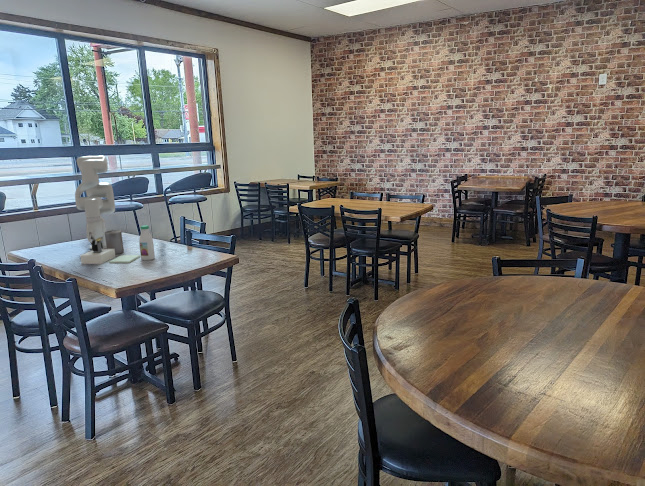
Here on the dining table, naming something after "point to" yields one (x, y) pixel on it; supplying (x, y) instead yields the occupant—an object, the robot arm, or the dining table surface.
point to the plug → (98, 245)
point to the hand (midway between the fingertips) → (97, 249)
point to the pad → (125, 259)
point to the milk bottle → (146, 244)
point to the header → (97, 256)
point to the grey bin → (114, 241)
